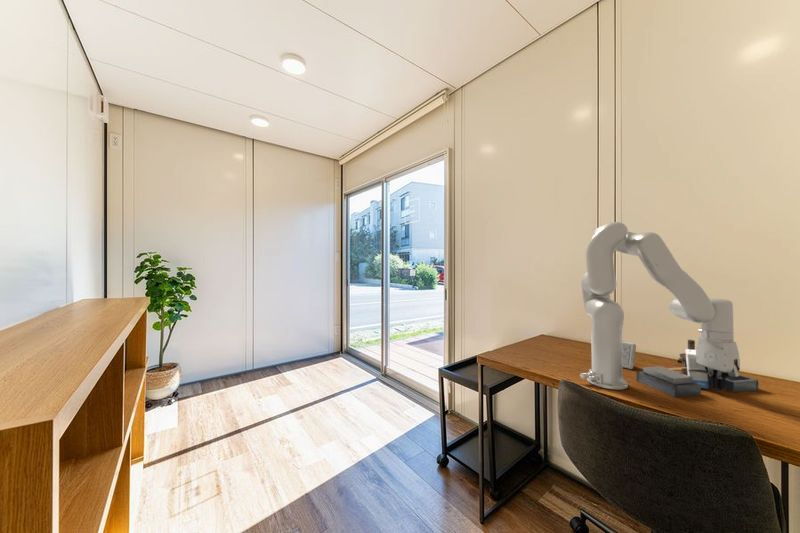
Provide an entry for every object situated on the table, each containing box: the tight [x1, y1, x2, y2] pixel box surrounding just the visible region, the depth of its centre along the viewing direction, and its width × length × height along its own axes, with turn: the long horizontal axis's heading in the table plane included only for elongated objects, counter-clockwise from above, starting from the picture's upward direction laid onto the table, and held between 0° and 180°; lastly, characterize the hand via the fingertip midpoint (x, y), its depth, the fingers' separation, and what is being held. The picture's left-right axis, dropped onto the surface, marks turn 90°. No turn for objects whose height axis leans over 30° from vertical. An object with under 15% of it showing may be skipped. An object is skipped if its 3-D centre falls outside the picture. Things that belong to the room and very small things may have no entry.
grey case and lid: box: [636, 365, 759, 398], centre depth 108 cm, size 33×14×6 cm, turn 97°
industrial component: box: [678, 339, 696, 367], centre depth 125 cm, size 9×7×12 cm
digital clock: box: [622, 340, 637, 370], centre depth 132 cm, size 16×9×11 cm, turn 22°
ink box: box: [684, 348, 710, 390], centre depth 109 cm, size 9×5×12 cm, turn 140°
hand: (718, 388), depth 102 cm, fingers closed
